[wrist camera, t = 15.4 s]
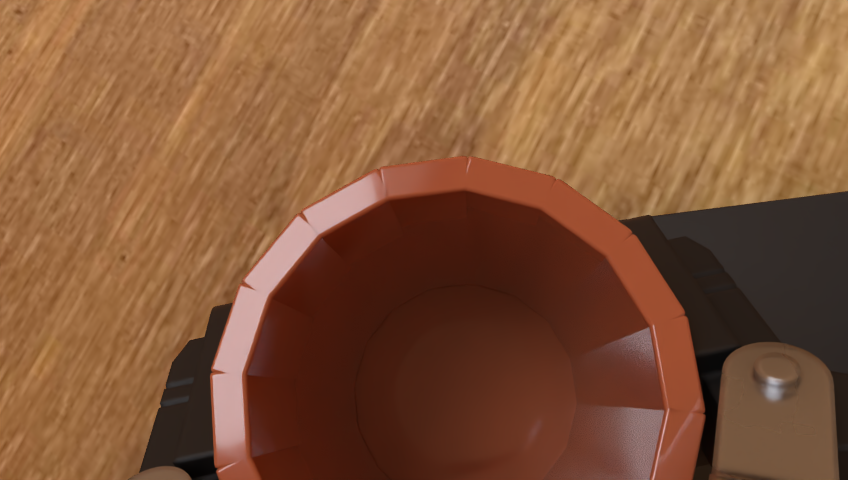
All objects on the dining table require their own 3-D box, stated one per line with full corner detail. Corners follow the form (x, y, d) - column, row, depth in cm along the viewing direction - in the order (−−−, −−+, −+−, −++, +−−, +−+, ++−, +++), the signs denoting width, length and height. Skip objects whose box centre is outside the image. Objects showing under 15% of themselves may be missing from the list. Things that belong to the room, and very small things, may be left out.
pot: (352, 540, 17) (223, 686, 9) (330, 285, 19) (199, 189, 10) (611, 512, 17) (751, 635, 8) (570, 255, 18) (653, 128, 10)
